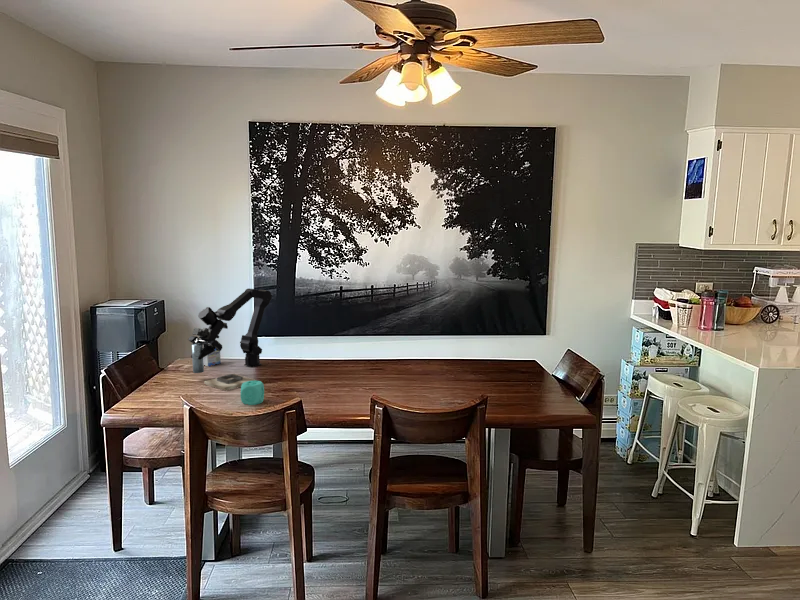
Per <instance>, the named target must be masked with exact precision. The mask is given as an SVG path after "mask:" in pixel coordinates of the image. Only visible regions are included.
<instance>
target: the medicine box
mask: <svg viewBox="0 0 800 600" xmlns="http://www.w3.org/2000/svg"><path fill="white" fill-rule="evenodd" d="M221 360H222V359H221V351H217V350H216V348H215V352H212V353H210V354H208V355H207V356H205V357H203V363H204V365H205V366H204V367H208V366H209V367H212V366H211V365H213V366H216V365H215V364H217V365H220V364H221V363H222V362H221Z"/></svg>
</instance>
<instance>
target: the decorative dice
mask: <svg viewBox="0 0 800 600" xmlns="http://www.w3.org/2000/svg"><path fill="white" fill-rule="evenodd" d="M264 398H265V385H264V382H262V381H261V380H255V381H247V382H244V383H243V384H242V386H241V387H240V400H241V403H242V404H243V405H246V404H248V405H247V406H256V405H260V404H262V403H263V401H265V399H264Z"/></svg>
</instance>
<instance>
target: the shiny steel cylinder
mask: <svg viewBox="0 0 800 600" xmlns="http://www.w3.org/2000/svg"><path fill="white" fill-rule="evenodd" d="M203 348H204V345H202V343H195V344H192V343H191V354H192V358H191V359H192V360H191V361H192V373H193V374H200V373H205V366H204V363H203V358H202V359H200V360H199V359H198V357H199V355H200V353H201V351H202V350H203Z"/></svg>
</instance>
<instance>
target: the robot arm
mask: <svg viewBox="0 0 800 600" xmlns="http://www.w3.org/2000/svg"><path fill="white" fill-rule="evenodd" d="M272 297H273V294H272V292H271V291H270V290H267V289H266V290H265V289H258V290H257V289H254V288H246V289H245V290H244V291H243V292H242V293H241V294H240V295H238V296H237V297H236V298H235V299H233V301H231V302H230V303H228V304H225V305H224V306H222V307H220V308H218V309H217V310H216V311H214V310H213V309H212V308H211V307H209V306H206V307H205V308H204V309H202V310H200V311H199V313H198V315H197V316H198V319H199V320H200V321H202V322H203V323H204V324H205V325H206V326H208V327H203V328H200V327H199V328H198V327H194V328H193V331H192V335H190V336H189V338H188V339H187V340H188V342H190V343H191V345H192V344H195V343H202V345H203V350H202V351H201V353H200V355H199V357H198V359H199V360H200V359H202V358H203V357H205V356H207V355H208V354H210V353H212V352H215V348H216V350H217V351H220V352H221V351H222V349H223V345H222V344H221V343H220V342H219V341H218V340H217V339H219V338H220V336H219V335H220V334H221V332H222V331H223V329H227V330H228V322H230V321H232V319H233V318H235V316H236V314H237V312H238V311H239V310H240V309H241V308H242V307H243V306H245V304H247V303H248V302H249V301H250V300H252V299H253V298H254V299H253V301H254V309H253V313H252V316H251V319H250V323H249V326H248V330H247V333H246V334H245V335H244V334H242V335H241V338H240V341H239V345H240V346H239V348H240V349H241V351H242V352H243V354H245V357H244V362H245V363H243V366H245V365H247V366H246V367H249V366H251V367H250V368H254V367H257V365H258V366H262V363H261V360H260V355H261V354H262V352H263V349H262V348H261V347H260V346H259V338H258V333H259V330H260V327H261V323H262V319H263V316H264V312H265V309H266V308H267V306H268V305H269V304H270V303H271V300H272ZM224 321H225V322H224ZM190 358H191V359H192V353H191V355H190ZM253 366H254V367H253Z"/></svg>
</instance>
